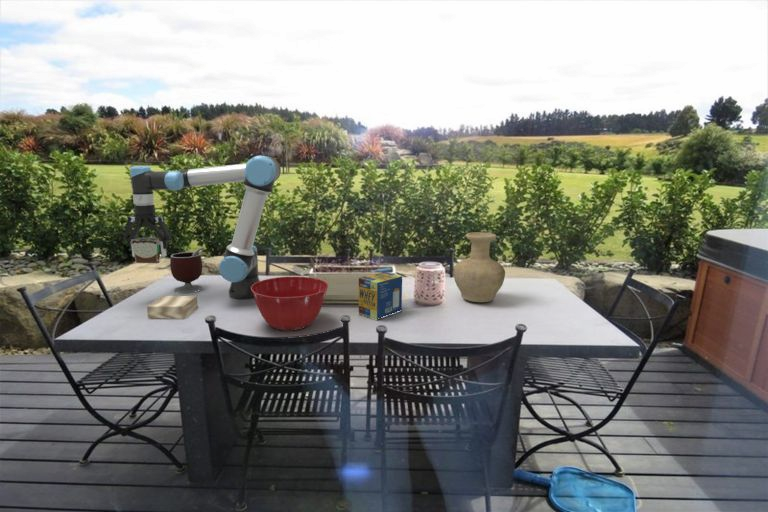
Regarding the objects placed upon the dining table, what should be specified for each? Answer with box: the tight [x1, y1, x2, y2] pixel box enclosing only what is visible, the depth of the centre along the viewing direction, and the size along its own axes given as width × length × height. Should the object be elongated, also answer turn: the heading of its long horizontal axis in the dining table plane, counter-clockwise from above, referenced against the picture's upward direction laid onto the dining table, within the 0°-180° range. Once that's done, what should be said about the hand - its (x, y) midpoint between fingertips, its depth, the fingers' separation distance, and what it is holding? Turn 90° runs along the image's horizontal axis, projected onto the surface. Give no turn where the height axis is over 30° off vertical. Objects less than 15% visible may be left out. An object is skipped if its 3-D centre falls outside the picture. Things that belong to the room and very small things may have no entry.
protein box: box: [358, 271, 403, 320], centre depth 184 cm, size 10×15×16 cm
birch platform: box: [146, 295, 199, 320], centre depth 183 cm, size 14×14×5 cm
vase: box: [453, 231, 506, 303], centre depth 201 cm, size 22×22×30 cm
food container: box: [131, 237, 161, 265], centre depth 190 cm, size 12×6×10 cm, turn 84°
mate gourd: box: [169, 246, 204, 294], centre depth 215 cm, size 16×14×20 cm
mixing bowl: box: [251, 276, 329, 331], centre depth 171 cm, size 28×28×15 cm
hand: (149, 256), depth 191 cm, fingers closed on food container, 11 cm apart
